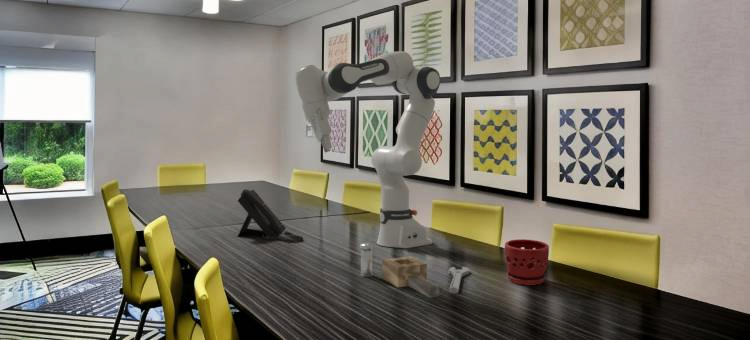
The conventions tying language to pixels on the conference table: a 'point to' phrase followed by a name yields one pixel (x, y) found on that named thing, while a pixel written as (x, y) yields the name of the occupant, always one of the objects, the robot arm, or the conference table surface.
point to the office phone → (263, 217)
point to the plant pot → (526, 261)
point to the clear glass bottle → (366, 259)
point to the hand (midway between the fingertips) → (328, 150)
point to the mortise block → (409, 275)
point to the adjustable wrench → (456, 278)
